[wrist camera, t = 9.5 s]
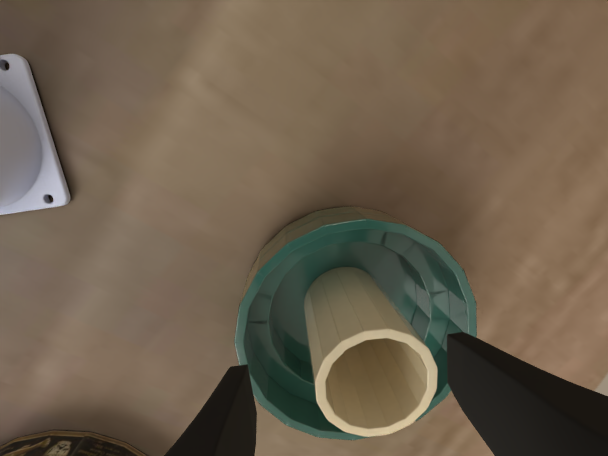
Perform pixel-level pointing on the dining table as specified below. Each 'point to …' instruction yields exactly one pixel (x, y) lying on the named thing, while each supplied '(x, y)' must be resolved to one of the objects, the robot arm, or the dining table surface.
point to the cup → (365, 355)
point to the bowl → (326, 256)
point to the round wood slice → (67, 445)
